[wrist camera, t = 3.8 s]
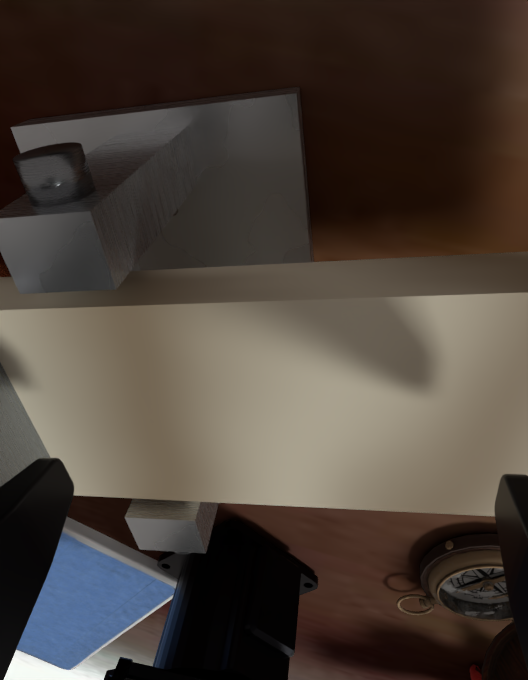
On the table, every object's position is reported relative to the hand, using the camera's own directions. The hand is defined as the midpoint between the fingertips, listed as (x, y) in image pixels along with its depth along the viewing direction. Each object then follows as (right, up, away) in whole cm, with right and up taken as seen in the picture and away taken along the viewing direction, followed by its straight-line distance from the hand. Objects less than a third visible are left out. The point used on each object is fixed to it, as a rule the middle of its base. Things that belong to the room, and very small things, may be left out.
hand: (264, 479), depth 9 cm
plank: (-3, +1, +3) cm, 4 cm away
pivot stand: (-2, +5, +7) cm, 9 cm away
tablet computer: (-15, -13, +24) cm, 31 cm away
